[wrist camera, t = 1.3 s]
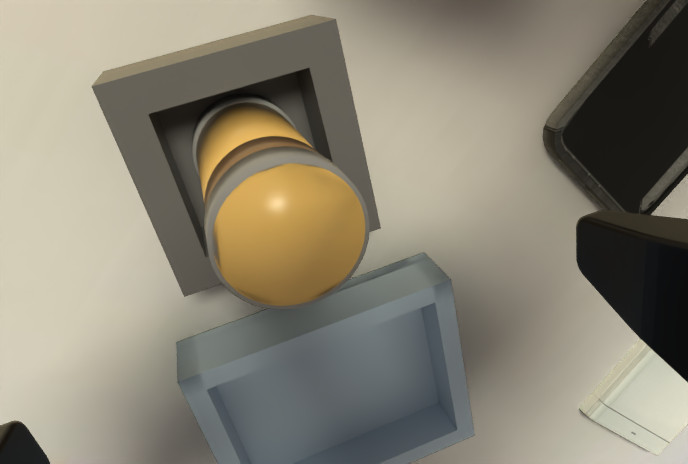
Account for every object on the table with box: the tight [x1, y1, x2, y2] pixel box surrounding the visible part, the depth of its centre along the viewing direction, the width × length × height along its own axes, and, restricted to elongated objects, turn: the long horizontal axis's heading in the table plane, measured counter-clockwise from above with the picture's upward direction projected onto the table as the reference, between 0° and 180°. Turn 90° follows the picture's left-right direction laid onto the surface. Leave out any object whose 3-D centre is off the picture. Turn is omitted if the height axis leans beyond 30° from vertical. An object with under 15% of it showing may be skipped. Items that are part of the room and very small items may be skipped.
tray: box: [177, 253, 475, 464], centre depth 23 cm, size 11×9×2 cm
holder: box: [92, 15, 381, 297], centre depth 18 cm, size 7×7×3 cm
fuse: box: [192, 94, 369, 310], centre depth 15 cm, size 4×4×8 cm
